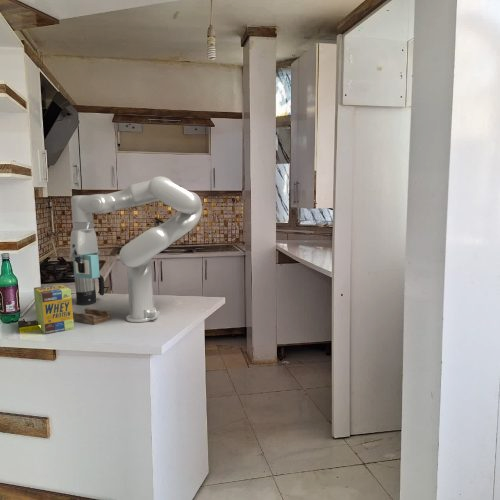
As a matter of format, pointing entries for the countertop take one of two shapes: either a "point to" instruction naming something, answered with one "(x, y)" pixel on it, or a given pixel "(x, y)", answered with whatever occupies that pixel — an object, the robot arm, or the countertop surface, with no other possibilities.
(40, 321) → the protein box
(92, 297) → the milk frother
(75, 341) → the countertop surface
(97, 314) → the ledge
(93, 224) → the robot arm
